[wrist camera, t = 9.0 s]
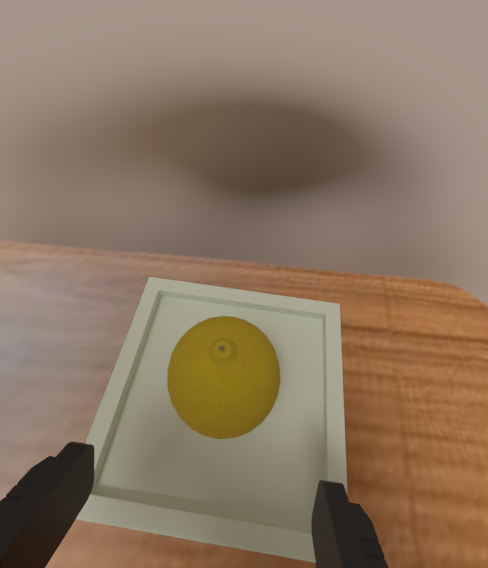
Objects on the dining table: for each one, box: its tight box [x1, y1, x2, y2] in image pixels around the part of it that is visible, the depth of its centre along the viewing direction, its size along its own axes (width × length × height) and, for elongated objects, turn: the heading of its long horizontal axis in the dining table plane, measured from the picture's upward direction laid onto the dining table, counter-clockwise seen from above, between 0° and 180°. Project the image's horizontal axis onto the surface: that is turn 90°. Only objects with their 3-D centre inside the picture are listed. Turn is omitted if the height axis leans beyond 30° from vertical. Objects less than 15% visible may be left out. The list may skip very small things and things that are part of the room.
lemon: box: [167, 316, 280, 439], centre depth 15 cm, size 6×6×8 cm
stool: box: [76, 277, 348, 563], centre depth 21 cm, size 14×14×10 cm
